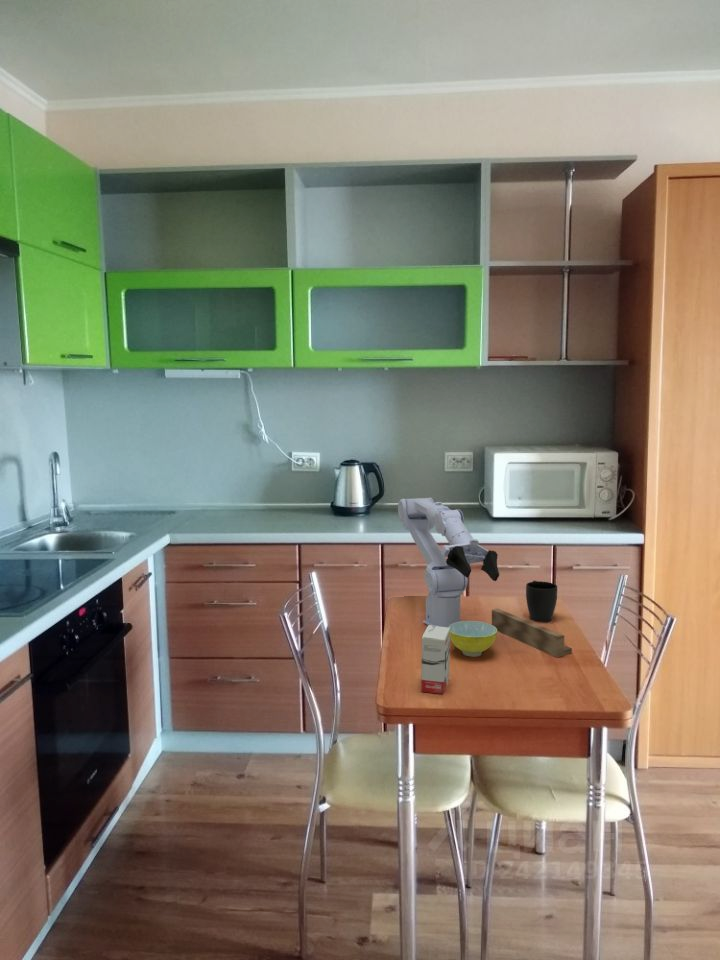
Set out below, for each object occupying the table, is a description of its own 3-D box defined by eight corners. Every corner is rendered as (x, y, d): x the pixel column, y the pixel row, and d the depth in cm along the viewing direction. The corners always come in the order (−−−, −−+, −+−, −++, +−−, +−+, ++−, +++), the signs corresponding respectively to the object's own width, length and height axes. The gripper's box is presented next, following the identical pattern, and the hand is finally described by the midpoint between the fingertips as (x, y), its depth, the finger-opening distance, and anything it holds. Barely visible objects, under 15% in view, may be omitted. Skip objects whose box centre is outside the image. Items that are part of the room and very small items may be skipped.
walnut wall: (491, 628, 183) (491, 609, 182) (506, 625, 185) (506, 606, 185) (557, 657, 162) (557, 636, 161) (573, 653, 164) (573, 633, 164)
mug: (549, 610, 198) (550, 577, 197) (559, 624, 186) (560, 589, 185) (520, 610, 198) (521, 577, 197) (528, 623, 186) (529, 589, 185)
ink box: (444, 694, 142) (444, 639, 141) (420, 692, 144) (420, 637, 142) (450, 678, 150) (450, 625, 149) (427, 676, 152) (427, 624, 150)
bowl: (486, 666, 157) (486, 639, 157) (440, 656, 163) (440, 631, 163) (503, 650, 167) (504, 625, 166) (459, 642, 173) (459, 617, 172)
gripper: (442, 524, 168) (462, 558, 157) (492, 532, 173) (515, 565, 162) (431, 547, 171) (450, 582, 160) (481, 555, 176) (503, 589, 165)
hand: (482, 575), depth 161 cm, fingers open, 7 cm apart
